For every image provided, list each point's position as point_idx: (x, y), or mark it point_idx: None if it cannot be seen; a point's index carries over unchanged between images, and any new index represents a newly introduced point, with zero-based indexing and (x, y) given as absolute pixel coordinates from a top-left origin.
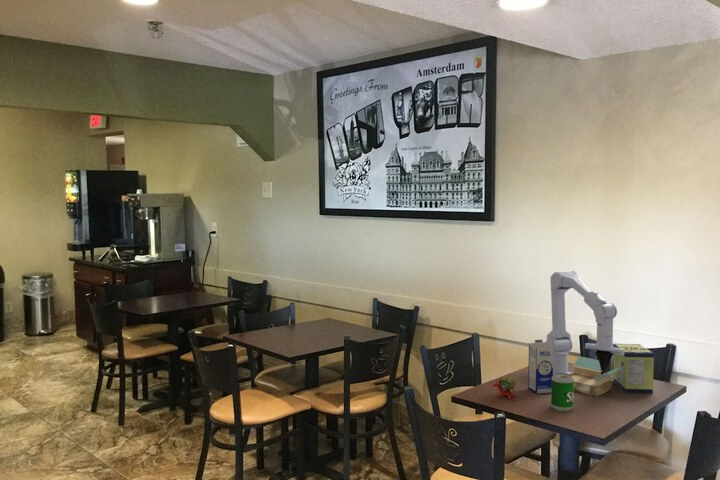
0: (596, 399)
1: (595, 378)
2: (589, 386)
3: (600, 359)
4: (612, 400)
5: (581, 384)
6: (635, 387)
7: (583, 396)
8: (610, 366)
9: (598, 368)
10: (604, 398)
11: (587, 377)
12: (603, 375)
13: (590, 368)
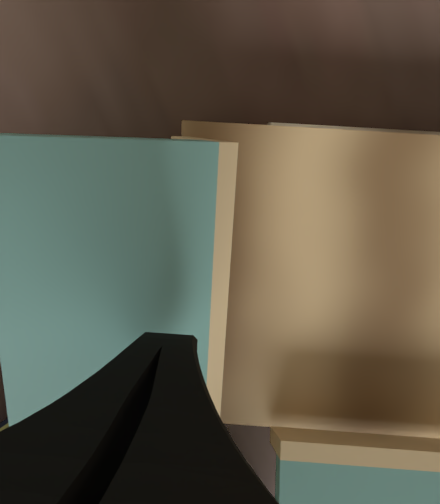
0: (155, 16)
1: (206, 140)
2: (274, 125)
3: (158, 442)
4: (45, 98)
5: (370, 131)
6: (8, 425)
7: (284, 15)
8: None
9: (321, 501)
10: (118, 103)
11: (389, 368)
12: (62, 135)
13: (410, 479)
